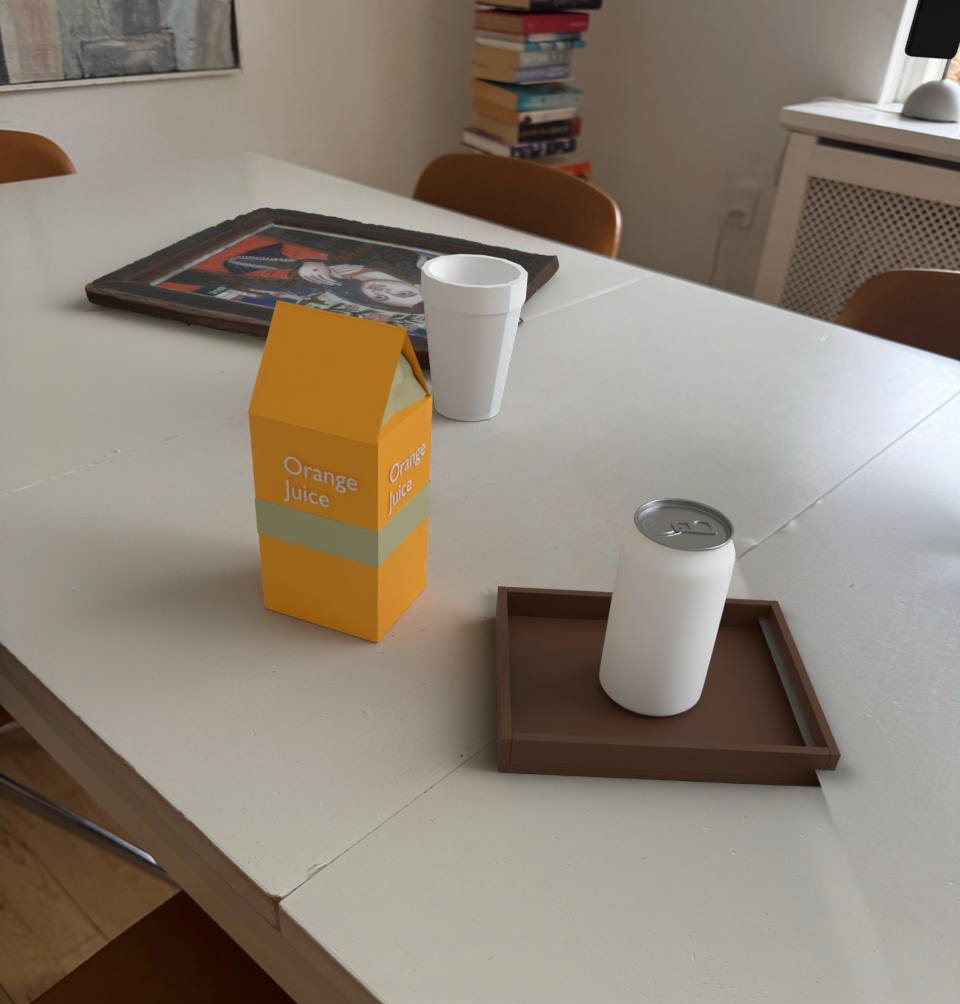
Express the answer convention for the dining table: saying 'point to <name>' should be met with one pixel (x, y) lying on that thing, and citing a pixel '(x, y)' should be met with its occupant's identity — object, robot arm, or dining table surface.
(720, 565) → the can
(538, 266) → the framed picture
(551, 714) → the serving tray
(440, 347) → the foam cup
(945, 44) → the robot arm
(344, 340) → the orange juice
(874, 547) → the dining table surface
